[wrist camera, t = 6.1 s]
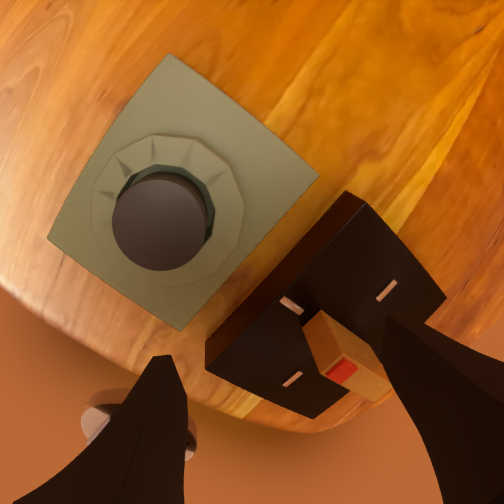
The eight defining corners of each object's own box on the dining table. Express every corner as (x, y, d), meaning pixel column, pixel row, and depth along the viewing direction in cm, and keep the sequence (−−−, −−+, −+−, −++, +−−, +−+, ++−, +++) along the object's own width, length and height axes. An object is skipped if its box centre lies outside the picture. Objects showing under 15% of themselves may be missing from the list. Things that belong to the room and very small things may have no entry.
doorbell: (182, 320, 18) (178, 353, 15) (55, 231, 15) (29, 252, 12) (313, 171, 15) (333, 182, 13) (172, 57, 13) (161, 42, 10)
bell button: (174, 269, 14) (169, 288, 12) (109, 221, 13) (95, 235, 11) (225, 206, 13) (226, 218, 11) (155, 153, 12) (146, 158, 10)
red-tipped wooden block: (369, 345, 17) (396, 389, 14) (352, 360, 17) (375, 406, 14) (320, 309, 16) (345, 357, 12) (301, 327, 16) (321, 377, 13)
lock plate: (305, 394, 22) (313, 421, 19) (204, 341, 19) (204, 371, 16) (427, 279, 19) (448, 299, 16) (345, 189, 16) (367, 202, 14)
